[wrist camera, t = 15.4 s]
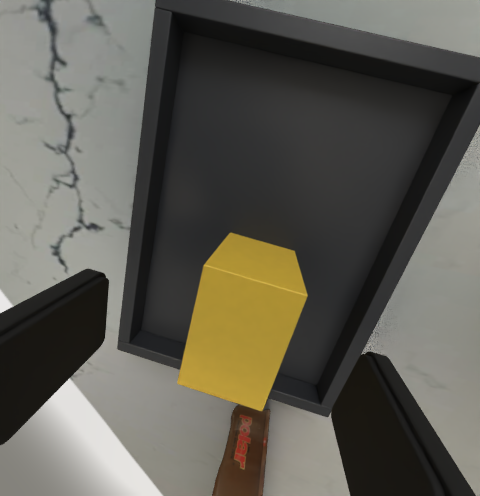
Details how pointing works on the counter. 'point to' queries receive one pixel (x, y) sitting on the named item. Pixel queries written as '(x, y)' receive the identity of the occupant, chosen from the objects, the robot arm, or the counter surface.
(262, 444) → the tin
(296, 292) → the sponge
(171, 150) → the tray
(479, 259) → the counter surface
